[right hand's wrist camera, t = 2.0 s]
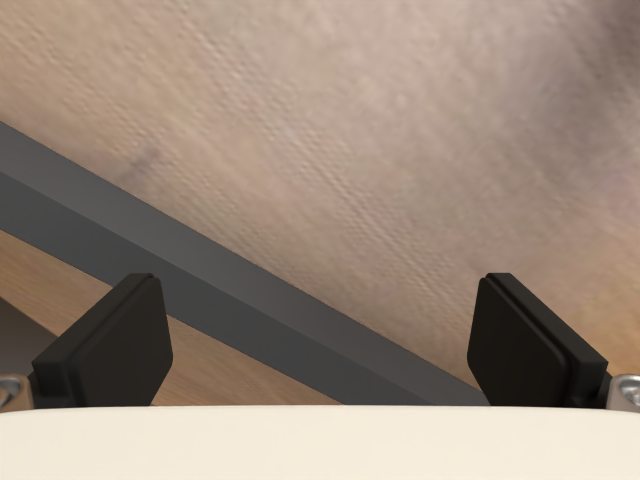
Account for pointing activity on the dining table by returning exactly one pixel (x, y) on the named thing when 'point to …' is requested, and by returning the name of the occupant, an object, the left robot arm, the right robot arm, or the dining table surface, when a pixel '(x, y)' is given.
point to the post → (209, 283)
